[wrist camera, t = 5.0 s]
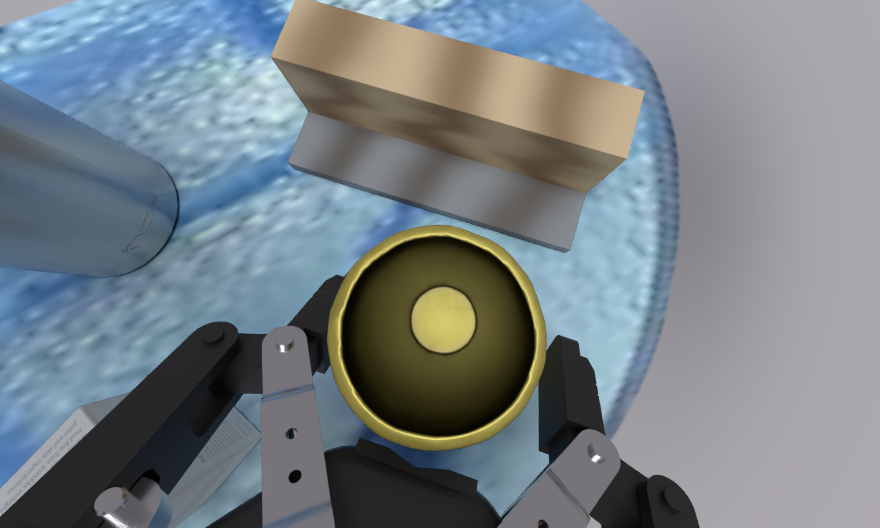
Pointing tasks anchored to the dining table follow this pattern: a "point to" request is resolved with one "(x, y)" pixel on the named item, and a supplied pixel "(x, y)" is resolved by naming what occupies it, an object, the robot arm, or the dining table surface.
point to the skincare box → (187, 494)
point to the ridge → (451, 123)
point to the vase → (436, 338)
